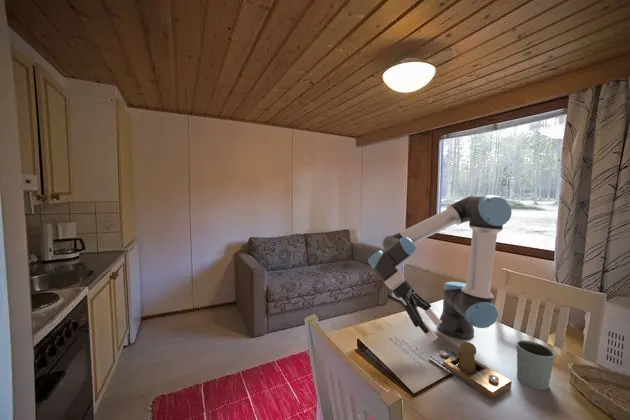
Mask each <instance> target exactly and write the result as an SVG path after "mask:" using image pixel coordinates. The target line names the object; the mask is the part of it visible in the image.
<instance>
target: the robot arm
mask: <svg viewBox="0 0 630 420" xmlns="http://www.w3.org/2000/svg"><path fill="white" fill-rule="evenodd" d="M511 217H512V208H511V204H510V203H509V202H508V200H506V198H503V197H502V196H498V195H497V196H496V195H492V194H491V195H488V194H487V195H470V196H467V197H464V198H462V199H460V200H458V201H456V202H454V203H452V204H450V205H448V206H447V207H446V209H445V210H442V211H441V212H439V213H437V214H434V215H432V216H431V217H428V218H426V219H424V220H422V221H420V222H418V223H416V224H414V225H411V226H410V227H408V228H406V229H403V230H401V231H400V232H397V233H395V234H393V235H386V236H385V237H383V239H382V242H381V245H382V248H383V249H384V250H385V251H383V250H380V249H379V250H377V251H376V252H374V253H373V254H372V255H371V256H370V257H368V259H367V261H368V264H369V265H370V267H371V268H372V269H373V270H374V272H375V273H376V274H377V275H378V276H379V278H380V279H381V280H382V281H383V282H384V284H385V286H387V287H388V289H389V290H391V292H392V294H393V295H394V297H396V298H397V299H400V298H401V299H402V300H401V301H400V304H401V305H402V306H403V308H404V309H405V311H406V314H407V315H408V317H409V318H410V320H411V322H412V324H413V326H414V327H416V328H417V327H419V328H420V330H421V331H422V332H423V334H425V336H426V338H428V340H430V342H434V341H435V340H437V339H438V336H437V335H436V333H434V331H433V330H432V328H431V327H430V326H429V324H427V323H426V321H424V320H423V318H422V316H421V315H420V312H419V310H418V308H417V307H419V308H420V309H422V310H423V311H424V313H425V314H426V316H427V317H428V318H429V319H430V320H431V321H432V323H433V324H434V325H435V327H437V326H438V327H437V328H438V330H439V331H441V333H443V334H445V335H446V336H449V337H452V338H455V339H462V340H464V339H465V340H469V339H471V338H473V337H474V335H475V328H477V329H487V328H489V327H491V326H493V325H494V324H495V323H496V322H497V320H498V319H499V311H498V308H497V307H496V306H495V304H494V294H493V293H492V292H491V283H492V279H493V277H492V276H493V269H494V262H495V261H494V260H495V253H496V246H497V239H498V238H497V236H498V234H499V233H500V232H502V231H503V227H504V225H505V224H507V222H509V221H510V219H511ZM463 223H468V226H469V228H470V229H471V231H472V235H471V243H470V249H469V250H470V251H469V259H468V264H467V267H468V268H467V275H466V282H460V281H446V282H445V283H444V286H443V289H442V291H443V298H442V301H443V303H442V313H441V315H440V317H439V316H437V314H436V313H435V312H434V311H433V309H432V308H431V307H432V305H431V304H430V302H428V301H427V300H426V299H425V298H423V297H422V296H421V295H420V294H419V293H417V291H416V290H415V289H413V287H412V285H411V284H410V283H409V281H408V280H407V279H405V277H404V275H403V274H402V273H401V271H400V270H398V268H397V266H399V265H400V264H402V263H403V262H404V261H405V260H406V259H408V258H409V257H410V256H412V255H413V254H414V253H415V252H416V251H417V246H416V245H415V244H416V243H418V242H420V241H423V240H425V239H427V238H429V237H431V236H433V235H435V234H437V233H439V232H441V231H444V230H445V229H447V228H450V227H453V226H454V225H459V226H460V225H461V224H463ZM474 327H475V328H474Z"/></svg>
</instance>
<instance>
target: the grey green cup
mask: <svg viewBox="0 0 630 420" xmlns="http://www.w3.org/2000/svg"><path fill="white" fill-rule="evenodd" d="M555 357H556V355H555V352H554V351H553V350H552V349H551V348H550V347H547V346H545V345H543V344H541V343H538V342H534V341H530V340H518V341H516V376H517V379H518V381H519V382H520V383H522V384H523V385H525V386H526V387H528V388H531V389H535V390H537V391H547V390H548V389H549V387H550V380H551V377H552V371H553V365H554V362H555V361H554V360H555Z"/></svg>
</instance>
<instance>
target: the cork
mask: <svg viewBox="0 0 630 420" xmlns="http://www.w3.org/2000/svg"><path fill="white" fill-rule="evenodd" d="M459 350H460V353H461V355H460V360H459V364H458V366H457V367H458V368H460V369H462V370H463V371H465V372H467V373H468V374H470V375H471V376H472V375H474V374H476V373H477V372H476V368H475V361H476V358H475V355H476V353H477V347H476V346H475V344H473V343H471V342H469V341H462V342H461V343H460V345H459Z"/></svg>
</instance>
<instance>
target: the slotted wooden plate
mask: <svg viewBox="0 0 630 420" xmlns="http://www.w3.org/2000/svg"><path fill="white" fill-rule="evenodd" d="M460 355H461V352H460V353H459V354H458V353H456V352H454V351H453V350H451V349H449V348H446V349H443V350H441V351H438V352H436V353H433V354H431V355H429V356H428V358H429V357H430V358H432V359H433V360H435V361H437V362H438V363H439V364H441V365H442V366H443V367H445V368H446V369H447V370H449V371H450V372H451V376H453V377H454V378H456V379H458V380H460V382H461V383H464V384H465V385H467V386H468V387H469V388H471V389H473V390H474V391H476V392H477V393H479V395H482V396H483V397H485V398H486V399H488V400H489V401H490V402H493V401H495V400H496V399H497V398H498V399H499V398H500V397H501V396H502V395H505V394H506V393H507V392H509V391H511V390H512V380H511V379H509V378H507V376H504V375H502V374H500V373H498V372H496V371H495V370H493V369H492V368H489V367H488V366H486V365H484V364H482V363H481V362H479V361H478V360H475V368H476V374H474V375H472V376H471V375H470V374H468V373H467V372H465V371H463V370H462V369H460V368H458V366H455V365H456V364H458V363H459V360H460Z"/></svg>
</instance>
